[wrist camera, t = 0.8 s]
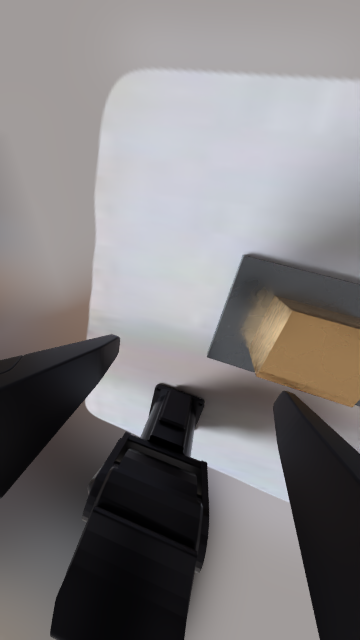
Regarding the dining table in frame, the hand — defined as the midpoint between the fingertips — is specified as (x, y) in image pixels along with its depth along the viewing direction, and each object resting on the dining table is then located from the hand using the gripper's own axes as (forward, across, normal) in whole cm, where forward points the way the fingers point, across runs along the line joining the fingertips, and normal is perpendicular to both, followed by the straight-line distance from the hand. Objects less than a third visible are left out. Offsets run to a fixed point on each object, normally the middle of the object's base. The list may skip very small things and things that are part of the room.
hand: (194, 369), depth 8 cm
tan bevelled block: (+9, -8, 0) cm, 12 cm away
